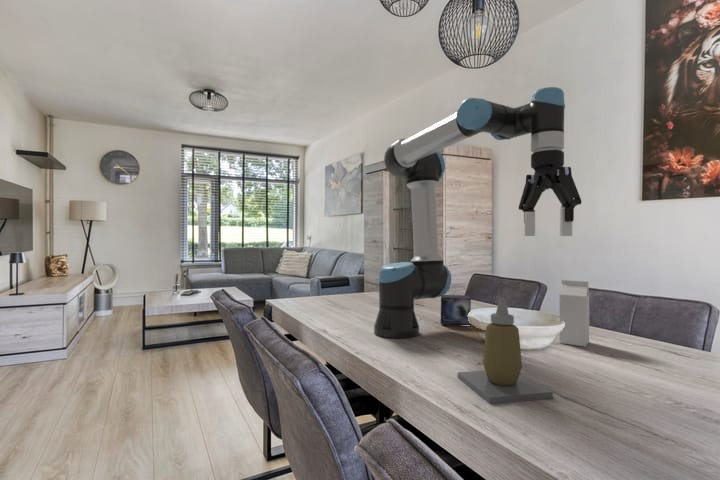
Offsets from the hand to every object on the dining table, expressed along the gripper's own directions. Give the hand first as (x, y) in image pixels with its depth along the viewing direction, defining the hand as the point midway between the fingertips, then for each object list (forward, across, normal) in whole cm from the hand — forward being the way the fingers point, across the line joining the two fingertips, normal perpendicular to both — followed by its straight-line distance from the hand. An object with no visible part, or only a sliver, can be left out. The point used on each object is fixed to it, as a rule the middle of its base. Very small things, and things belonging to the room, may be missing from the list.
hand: (546, 236), depth 97 cm
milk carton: (+33, +16, -22) cm, 43 cm away
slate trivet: (+33, -11, +19) cm, 39 cm away
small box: (+33, +46, +3) cm, 57 cm away
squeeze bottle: (+32, -11, +19) cm, 39 cm away
